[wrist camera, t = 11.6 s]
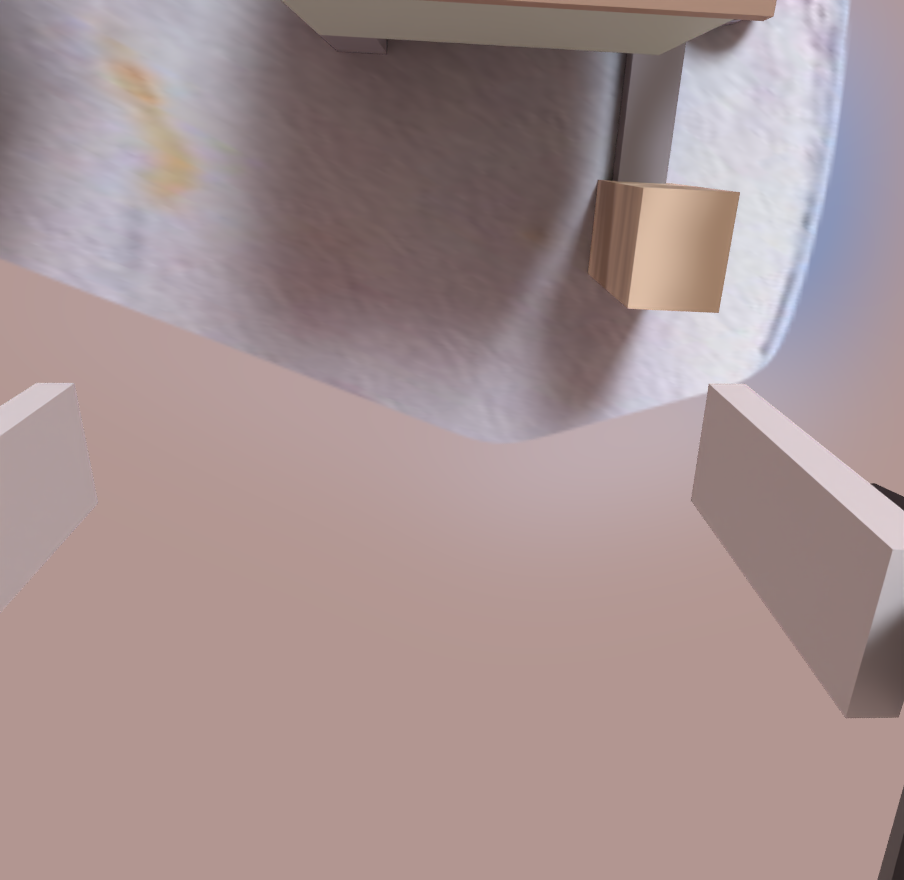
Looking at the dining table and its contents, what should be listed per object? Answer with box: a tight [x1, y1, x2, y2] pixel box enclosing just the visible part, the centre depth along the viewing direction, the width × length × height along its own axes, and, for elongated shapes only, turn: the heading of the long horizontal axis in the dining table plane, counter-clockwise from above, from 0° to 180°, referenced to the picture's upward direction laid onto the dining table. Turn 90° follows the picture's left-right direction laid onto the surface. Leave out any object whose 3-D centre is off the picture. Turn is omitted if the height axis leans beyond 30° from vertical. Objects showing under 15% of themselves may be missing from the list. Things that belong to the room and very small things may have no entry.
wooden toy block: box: [588, 42, 740, 313], centre depth 33 cm, size 4×21×10 cm, turn 177°
